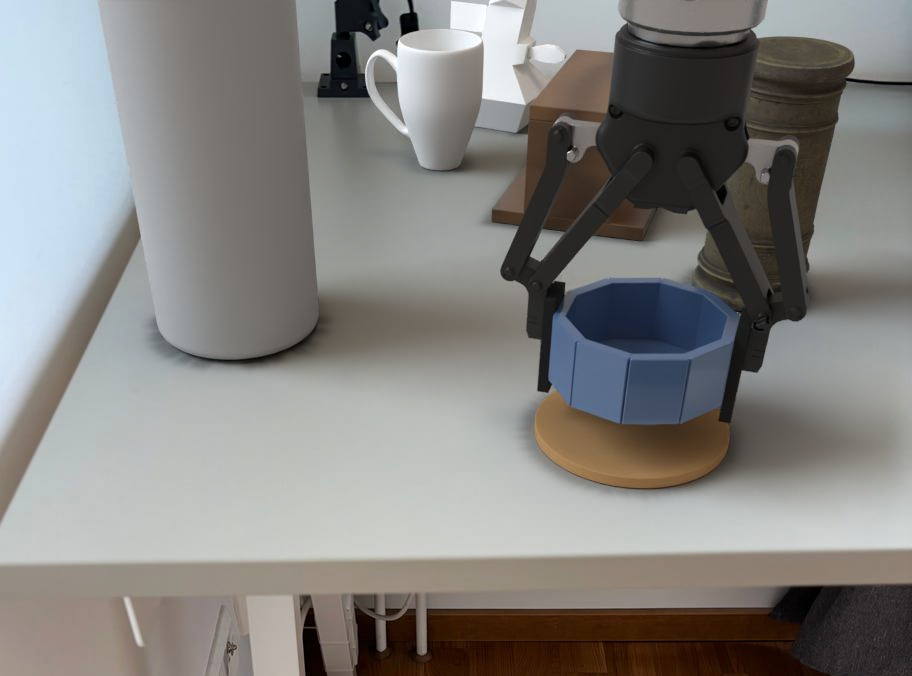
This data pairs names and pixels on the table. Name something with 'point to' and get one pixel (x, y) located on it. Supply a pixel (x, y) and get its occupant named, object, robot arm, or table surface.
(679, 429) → the coaster
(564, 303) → the bowl
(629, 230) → the stand
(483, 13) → the white faceted sculpture
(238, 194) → the cylinder vase
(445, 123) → the mug
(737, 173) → the container
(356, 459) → the table surface
